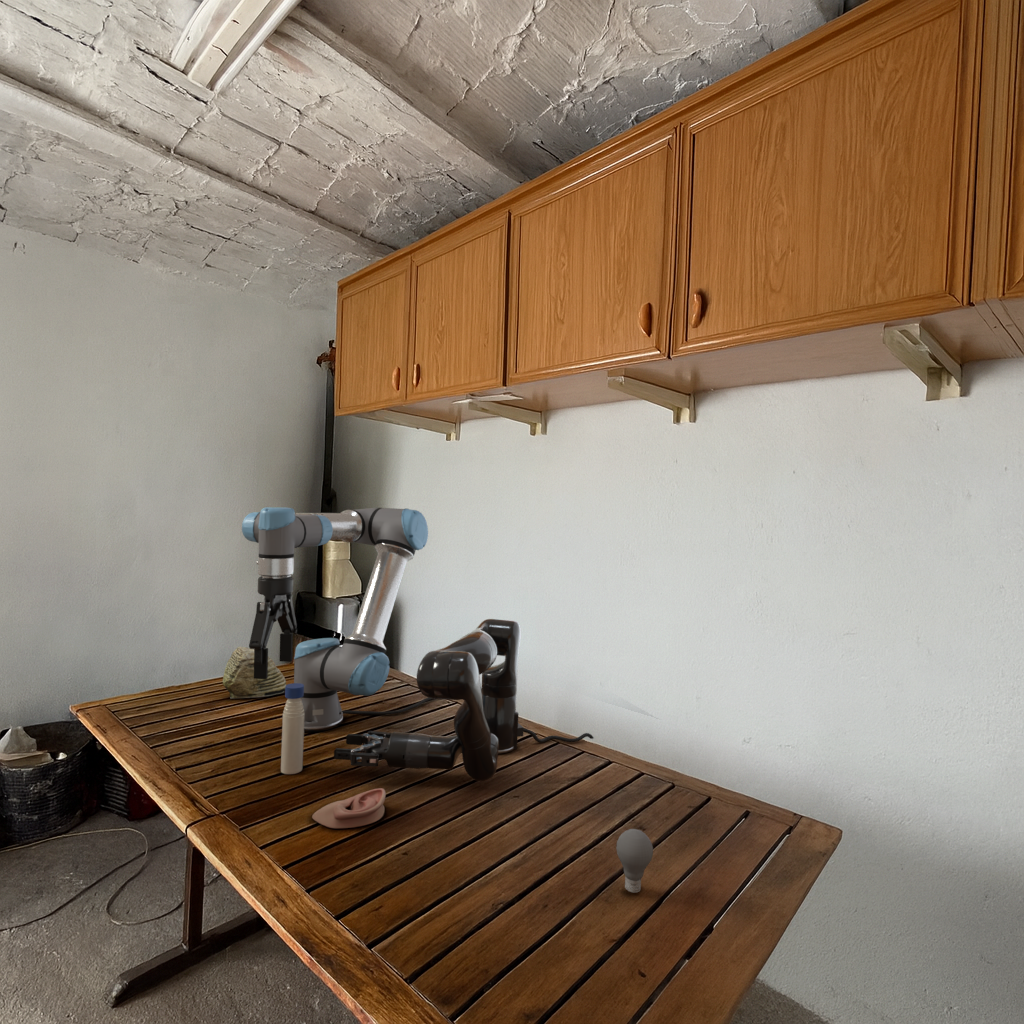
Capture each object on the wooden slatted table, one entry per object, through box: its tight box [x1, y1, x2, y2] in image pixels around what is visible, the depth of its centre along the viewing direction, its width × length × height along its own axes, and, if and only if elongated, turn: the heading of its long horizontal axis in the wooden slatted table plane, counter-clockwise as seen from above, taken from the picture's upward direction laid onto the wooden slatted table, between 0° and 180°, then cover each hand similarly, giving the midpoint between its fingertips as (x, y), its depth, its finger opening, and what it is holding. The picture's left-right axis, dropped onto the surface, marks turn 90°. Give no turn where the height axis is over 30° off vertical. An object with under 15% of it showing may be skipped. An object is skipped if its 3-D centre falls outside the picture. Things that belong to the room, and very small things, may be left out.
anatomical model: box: [311, 787, 387, 829], centre depth 126 cm, size 13×4×12 cm
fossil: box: [222, 646, 287, 699], centre depth 198 cm, size 9×18×15 cm, turn 132°
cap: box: [284, 682, 304, 700], centre depth 146 cm, size 4×4×2 cm
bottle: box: [280, 698, 305, 775], centre depth 146 cm, size 5×5×19 cm
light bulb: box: [615, 828, 654, 894], centre depth 106 cm, size 6×6×10 cm
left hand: (273, 669), depth 143 cm, fingers open, 13 cm apart
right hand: (340, 746), depth 145 cm, fingers open, 8 cm apart
